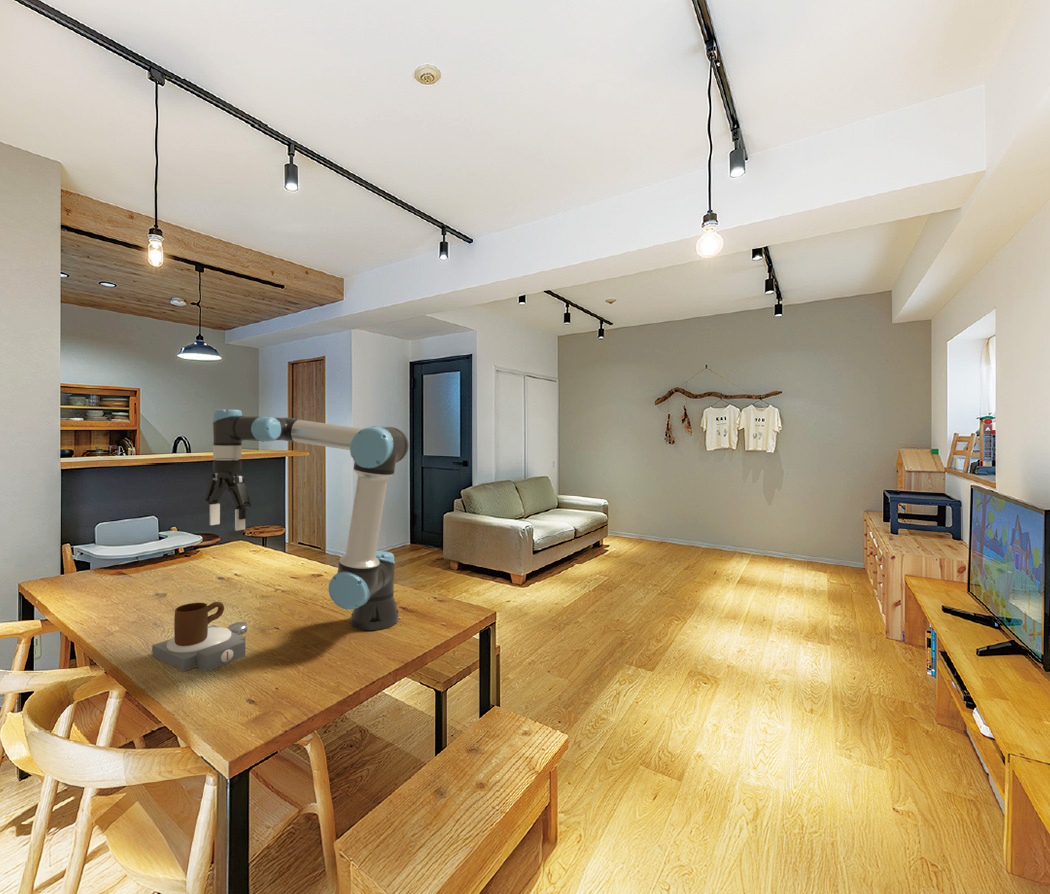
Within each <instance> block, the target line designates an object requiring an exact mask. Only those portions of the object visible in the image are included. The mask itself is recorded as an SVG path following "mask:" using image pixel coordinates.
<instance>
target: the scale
mask: <svg viewBox="0 0 1050 894" xmlns="http://www.w3.org/2000/svg"><path fill="white" fill-rule="evenodd" d="M246 644H247V643H246V637H245V636H244V635H242V634H241V635H238V634H236V633H233V632H231V631H230V630H229V629H228V628H225V627H222V626H221V627H220V626H217V625H214V624H212V625H208V635H207V638H206V639H205V640H204V641H202V642H200V643H198V644H194V645H189V646H179V645H176V644H175V640H174V636H173V637H171V638H169V639H167V640H164V641H161V642H157V643H154V644H152V645H151V652H152V653H151V656H152V657H153V658H156V659H158V660H160V661H162V662H164V663H166V664H168V665H170V666H172V667H173V668H176V669H178V670H180V671H183V672H186V671H188V670H191V669H193V668H196V667H197V668H199V669H201V670H203V671H205V672H210V671H212V670H215V669H217V668H219V667H221V666H224V665H226V664H229V663H231V662H234V661H236V660H239V659H242V658H244V657H246Z"/></svg>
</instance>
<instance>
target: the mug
mask: <svg viewBox="0 0 1050 894" xmlns="http://www.w3.org/2000/svg"><path fill="white" fill-rule="evenodd" d="M216 608H217V609H216ZM214 609H216V612H215V613H212V614H210V615H209V612H211V611H212V610H214ZM224 611H225V605H224V603H222V602H221V601H214V602H213V601H212V603H210V604H207V603H205V602H192V603H191V602H190V603H185V604H182V605H179V606H177V607H175V609H174V616H173V617H174V619H173V621H174V623H173V626H174V627H173V629H174V631H173V632H174V636H173V637H174V640H175V644H176V645H179V646H189V645H194V644H198V643H200V642H202V641H204V640H205V639H206V638H207V635H208V627H209V624H211V623H212V622H213V621H216V620H217V619H219V618H220V617H221V616H222V615H223V613H224Z"/></svg>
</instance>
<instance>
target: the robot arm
mask: <svg viewBox="0 0 1050 894" xmlns="http://www.w3.org/2000/svg"><path fill="white" fill-rule="evenodd" d="M212 429H213V430H212V431H213V433H212V434H213V444H212V446H213V447H212V457H213V458H214V460H213V461H212V462H213V463H212V465H213V466H212V471H213V472H214V473H211V474H210V480H209V484H208V488H207V490H206V494H205V498H204V501H205V502H207V503H208V505H209V526H215V525H220V524H221V501H220V500H221V498H222V496H223V494H224V492H225V490H226V491H228V492H229V493H230V496H231V497H232V501H233V502H234V504H235V506H236V507H235V508H234V513H235V514H234V531H236V532H237V531H242V530H243V531H245V530H246V516H247V514H246V513H247V511H246V510H247V508H248V507H249V508H250V507H251V505H252V503H251V499H250V496H249V492H248V489H247V486H246V482H245V481H246V480H245V479H246V477H245V476H244V475H238V473H239V472H241V471H242V467H243V465H242V463H243V462H242V460H241V458H242V451H243V448H242V445H243V443H242V442H243V441H249V442H251V441H254V442H274V441H283V442H284V441H285V442H290V443H291V442H292V443H298V444H299V443H300V444H307V445H313V446H320V447H327V448H331V449H332V448H333V449H340V450H345V451H349V452H350V457H351V458H352V459H353V461H354V463H353V471H354V472H355V473H356V475H357V480H356V485H355V492H354V500H353V505H352V512H351V518H350V524H349V525H350V526H349V531H348V537H347V544H346V548H345V549H346V550H345V554H343V555H342V556H341V557H340V558H339V561H338V566H337V573H336V574H334V575H333V576H332V577H331V579H330V581H329V582H328V588H327V590H328V594H329V597H330V599H331V600H332V601H333V602H334V604H335V605H336V606H337V607H339V608H341V609H344V610H348V611H349V610H353V611H352V613H351V616H350V626H351V627H353V628H354V629H357V630H361V631H378V630H384V629H388V628H390V627H393V626H394V625H396V624H397V623H398V622H399V620H400V617H399V616H400V613H399V610H398V609H397V608H398V607H397V603H396V601H395V595H394V593H395V592H394V590H395V564H396V562H395V554H394V553H392V552H390V551H386V550H385V551H383V550H381V551H380V550H378V543H379V536H380V532H381V531H380V528H381V524H382V518H383V511H384V505H385V499H386V492H387V488H388V487H387V485H388V480H389V479H390V478H391V477H392V476H394V474H395V471H396V464H397V463H399V462H400V461H402V460H403V459H405V457H406V456H407V454H408V452H409V447H410V446H409V439H408V437H407V436H406V434H405V433H404V432H403V430H401V429H399V428H396V427H392V426H375V425H373V426H369V427H365V428H361V427H353V426H347V425H338V424H331V423H325V422H317V421H310V420H304V419H303V420H302V419H297V418H292V417H276V416H275V417H274V416H272V417H271V416H266V415H265V416H262V415H261V416H250V415H249V416H245V415H243V412H242V410H241V409H226V408H225V409H224V408H217V409H215V410H214V412H213V419H212ZM397 621H398V622H397ZM395 623H396V624H395ZM392 625H393V626H392Z"/></svg>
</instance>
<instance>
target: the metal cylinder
mask: <svg viewBox="0 0 1050 894" xmlns="http://www.w3.org/2000/svg"><path fill="white" fill-rule="evenodd" d="M227 629H229V630H230V631H231V632H233V633H236V634H238V635H241V636H242V635H243V634H245V633H247V632H248V623H247V622H245V621H238V622H234V623H231V624H230V625H229V626H228V628H227Z"/></svg>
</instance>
